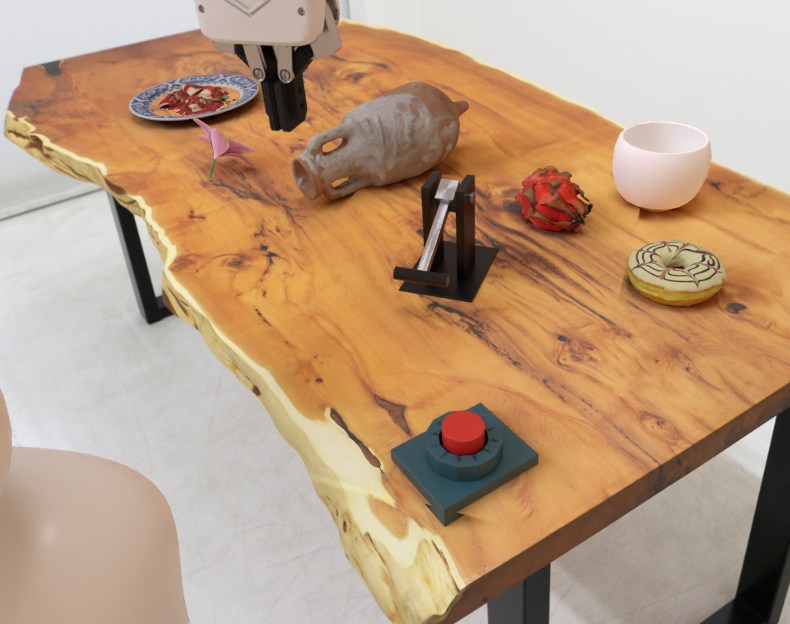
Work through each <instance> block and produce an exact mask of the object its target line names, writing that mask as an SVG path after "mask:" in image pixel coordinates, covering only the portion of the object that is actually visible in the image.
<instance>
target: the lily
mask: <svg viewBox="0 0 790 624" xmlns="http://www.w3.org/2000/svg"><path fill="white" fill-rule="evenodd" d="M188 116H189V117H190V118H192V119H193V120H192V121H194V122H195V123H196V124H197V125H198V126H199V127H200V128H201V129H202V130H203V131H204V133H205V134H198V135H197V138H198V139H201V140H203V141H205V142H207V143H210V145H211V148H212V151H213V154H214V156H213V160H212V164H211V168H210V172H209V177H208V182H212V178H213V177H212V176H213V171H214V167H215V163H216V161H217V159H218V158H220V157H231V156H232V157H231V158H232V159H237V158H238V159H239V160H242V161H244V162H245V163H247V164H249V165H250V166H251V167H253V168H255V169H256V168H257V167H256V166H255V164H254V163H253V162H252V160H251V161H250V159H249V158H247V157H246V156H245V154H249V153H250V154H251V153H256V150H255V149H254V148H253V147H250V146H249V145H247V144H245V143H244V142H241V141H239V140H237V139H232V137H231V136H228V135H227V134H226V135H225V134H224V133H223V132H222V131H220V130H219V129H217V128H215V127H213V128H211V126H209V125H208V124H207V123H205V121H204V122H203V121H202V120H200V119H197V118H195V117H192V116H190V115H188ZM227 137H228V138H227ZM233 157H235V158H233ZM209 178H211V180H209Z"/></svg>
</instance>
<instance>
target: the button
mask: <svg viewBox="0 0 790 624" xmlns="http://www.w3.org/2000/svg"><path fill="white" fill-rule="evenodd" d="M457 411H458V412H454V413H451V414H450V415H448V416H447V417H446V418H445V419H444V420H443V422H442V442H443V445H444V447H445V448H446V449H447V450H448V451H449V452H450V453H452V454H455V455H459V456H468V455H473V454H475V453H477V452H478V451H480V450H481V449H482V447H483V446H484V443H485V424H484V422H483V420H482V418H481V417H479V416H478V415H477V414H475V413H472V412H469V411H461V410H457Z"/></svg>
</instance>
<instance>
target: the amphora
mask: <svg viewBox="0 0 790 624" xmlns="http://www.w3.org/2000/svg"><path fill="white" fill-rule="evenodd" d="M469 109H470V104H469V102H468V101H466V100H463V99H462V100H457V101H453V100H452V99H451V98H450V97H449V96H448V94H446V93H445V92H444V91H442V90H441V89H440V88H438V87H436V86H435V85H432V84H430V83H427V82H424V81H419V80H417V81H410V82H407V83H404V84H401V85H398V86H396V87H393V88H392V89H390V90H388V91H386V92H384V93H382V94H380V95H378V96H376V97H374V98H373V99H371V100H367V101H365V102H363V103H362V104H359V105H358V106H356V107H354V108H353V109H350V110H349V111H347V112H346V113H345V114H344V116H343V118H342V121H341V122H340V123H339V124H337V125H335V126H332V127H330V128H328V129H326V130H323V131H322V132H320V133H318V134H315V135H313V136H311V137H310V138H309V139H308V141H307V143H306V145H305V148H304V150H303V152H302V153H301V154H299V155H298V156H295V157H294V158H293V159H292V160H291V162H290V167H291V175H292V177H293V179H294V181H295V186H296V187H297V188H298V190H299V191H300V192H301V193H302V195H303V196H304V197H305V198H307V199H308V200H309V201H315V200H317V199H319V198H321V197H322V196H324V197H325V198H326V199H327V200H336V199H340V198H343V197H345V196H348V195H350V194H354V193H356V192H357V191H358V190H359V189H363V188H367V187H377V188H381V187H384V186H388V185H392V184H395V183H398V182H401V181H405V180H407V179H411V178H415V177H418V176H421V175H422V174H423V173H424V172H427V171H428V170H430V169H432V168H433V167H435V166H438V165H439V164H441V163H442V162H443V161H445V160H446V159H448V157H450V155H451V154H452V153H453V152H454V150H455V149H456V147H457V145H458V141H459V139H460V130H461V129H460V128H461V121H460V117H461V116H462V115H463V114H464V113H466V112H467V111H468V110H469ZM337 139H341V140H340V142H339V144H338V145H337V147H335V148H334V149H331V150H328V151H324V148H323V146H325V145H326V144H328V143H331V142H332V141H335V140H337ZM346 178H347V179H346ZM342 179H346V180H344V181H342V182H341V183H340V184H337V186H334V185H333V183H334V182H336V181H338V180H342Z"/></svg>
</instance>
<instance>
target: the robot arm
mask: <svg viewBox="0 0 790 624" xmlns="http://www.w3.org/2000/svg"><path fill="white" fill-rule="evenodd" d="M193 4H194V11H195V15H196V19H197V23H198V26H199V29H200V31H201V33H202V35H203V36H204V37H205V38H207V39H209V40H210V41H212V45H213V47H214V49H216V50H218V51H220V52H223V53H227V54H230V55H233V56H237V57H238V59H240V61H242V62H243V63H244V64H245V66H247V68H249V71H250V74H251V76H252V78H253V80H254V81H255V82H260V88H261V93H262V100H263V105H264V110H265V114H266V115H267V116H268V122H269V127H270V131H273V132H280V131H282V132H283V133H291V132H292V131H294V130H295V129H296V128H297V127H299V126H300V125H301V124H303V123H304V122H305V121H306V118H307V114H308V102H307V96H306V88H305V82H304V75H303V74H304V73H305V72H307V71H308V69H309V66H310V65H311V64H312V62H313V61H314V60H317V59H322V58H326V57H329V56H330V57H331V56H333V55H334V54H336V53H338V52H339V51H341V49H342V47H343V42H342V39H341V36H340V33H339V32H340V31H339V28H338V25H339V23H340V19H341V18H340V17H341V10H340V9H341V8H340V0H193ZM174 518H175V517H174V514H173V511H172V508H171V506H170V503H169V502H168V500H167V499H166V497H165V495H164V494H163V492H162V491H161V490H160V488H158V486H157V485H156V484H155V483H154V482H153V481H152V480H150V479H149V478H148V477H146V476H145V475H144V474H143V473H141V472H139V471H138V470H136V469H134V468H132V467H130V466H128V465H127V464H126V465H125V463H124V464H123V463H121V462H120V461H119V462H118V461H116V460H112V459H109V458H105V457H101V456H98V455H95V454H91V453H84V452H78V451H73V450H66V449H58V448H57V449H56V448H47V447H35V446H34V447H33V446H20V445H19V446H18V445H13V429H12V424H11V419H10V414H9V409H8V406H7V402H6V400H5V396H4V393H3V391H2V389H1V388H0V624H192V623H191V620H190V617H189V613H188V609H187V608H188V607H187V603H186V599H185V593H184V585H183V576H182V575H183V574H182V564H181V563H182V562H181V553H180V543H179V537H178V531H177V526H176V522H175V521H176V520H175V519H174Z"/></svg>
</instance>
